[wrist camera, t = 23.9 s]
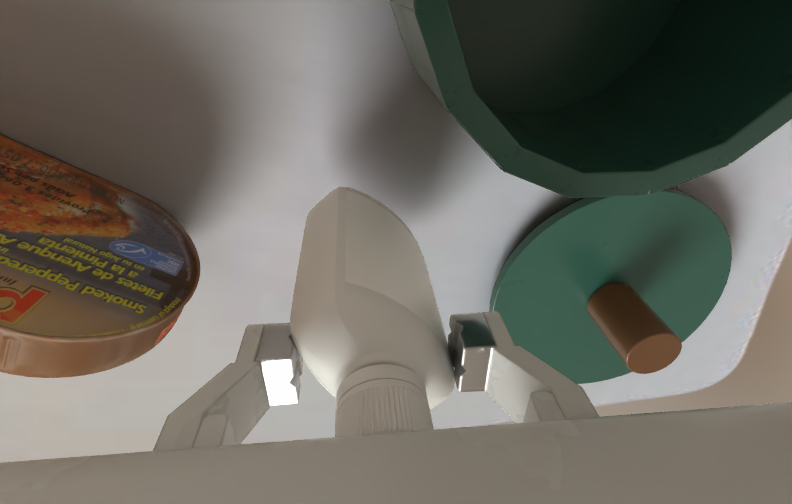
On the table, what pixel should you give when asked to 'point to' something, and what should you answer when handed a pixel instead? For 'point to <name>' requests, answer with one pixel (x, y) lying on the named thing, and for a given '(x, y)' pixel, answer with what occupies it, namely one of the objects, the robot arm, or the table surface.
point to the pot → (606, 84)
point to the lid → (614, 283)
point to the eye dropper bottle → (369, 317)
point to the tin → (83, 269)
